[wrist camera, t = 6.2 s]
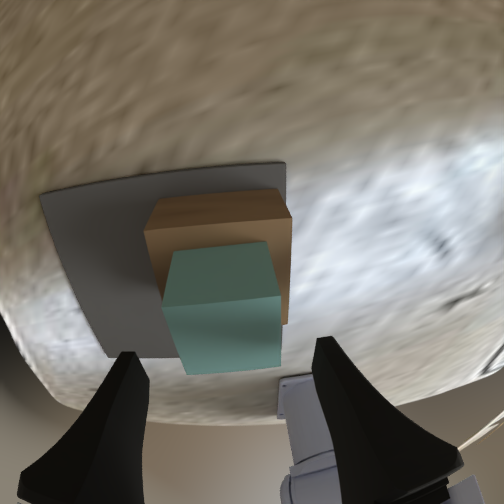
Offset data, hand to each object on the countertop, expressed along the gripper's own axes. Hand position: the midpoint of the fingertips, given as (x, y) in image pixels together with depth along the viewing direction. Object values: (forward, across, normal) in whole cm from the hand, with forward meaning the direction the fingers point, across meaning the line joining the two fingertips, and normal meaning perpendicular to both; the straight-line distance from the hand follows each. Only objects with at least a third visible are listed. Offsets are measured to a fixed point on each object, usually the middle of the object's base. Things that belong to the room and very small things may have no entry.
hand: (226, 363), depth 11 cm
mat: (+10, +4, +3) cm, 11 cm away
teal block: (+5, 0, 0) cm, 5 cm away
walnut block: (+9, 0, 0) cm, 9 cm away
